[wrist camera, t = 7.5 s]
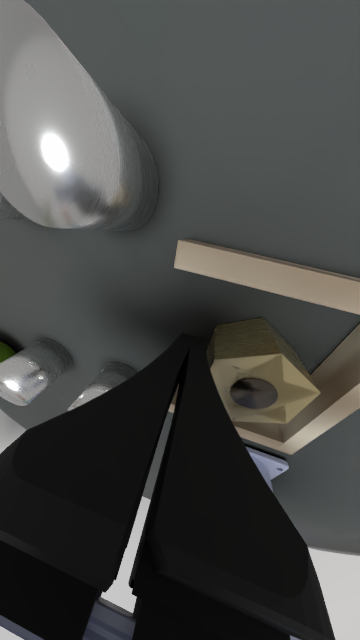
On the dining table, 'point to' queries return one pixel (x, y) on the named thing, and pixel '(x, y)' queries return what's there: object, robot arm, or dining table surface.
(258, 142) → the dining table surface
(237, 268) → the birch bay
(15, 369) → the cylinder
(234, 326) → the brass nut
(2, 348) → the snail figurine
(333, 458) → the dining table surface
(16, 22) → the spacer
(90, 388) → the cylinder
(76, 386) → the dining table surface
